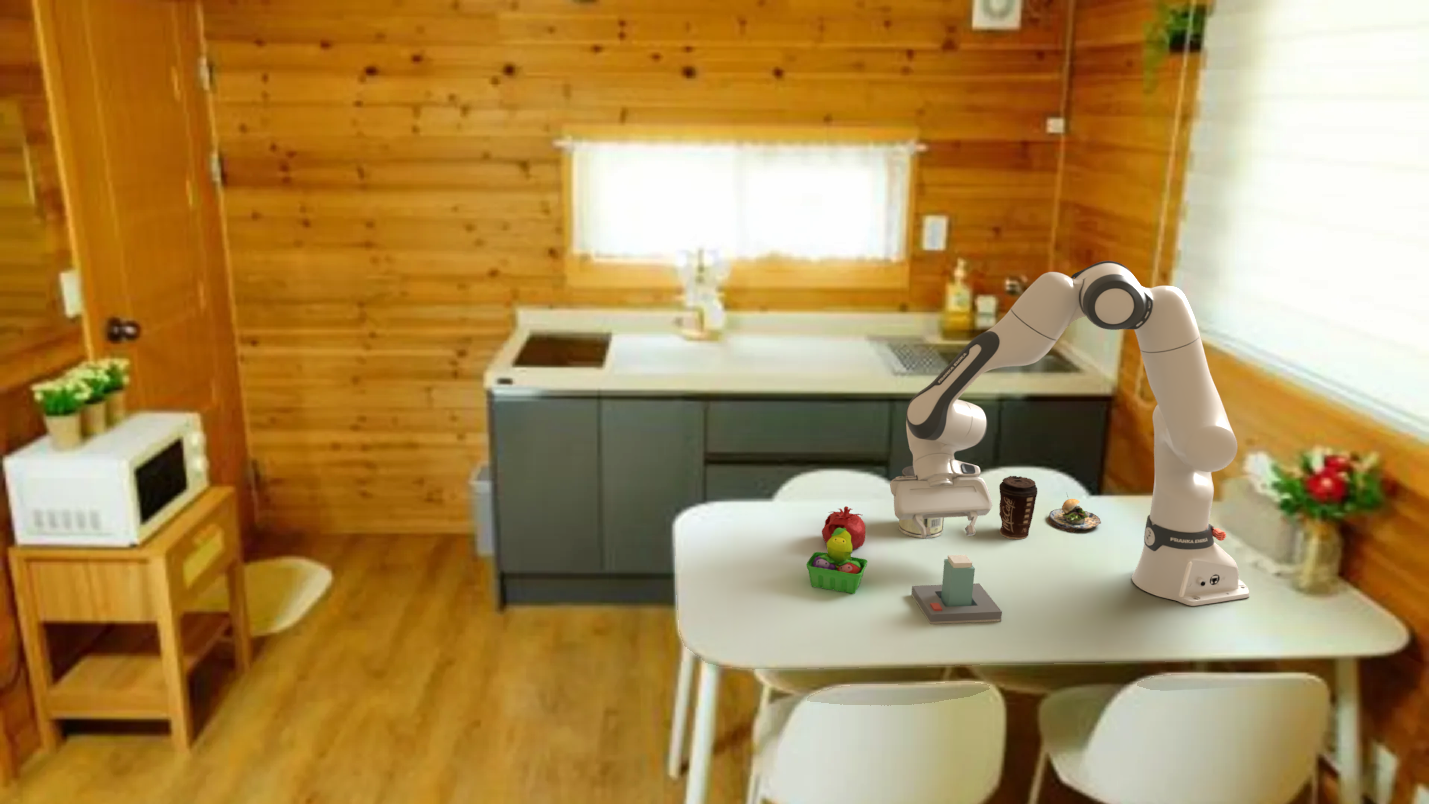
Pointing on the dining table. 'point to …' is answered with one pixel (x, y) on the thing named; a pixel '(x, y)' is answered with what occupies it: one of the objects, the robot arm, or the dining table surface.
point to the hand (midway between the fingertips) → (949, 536)
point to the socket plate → (938, 613)
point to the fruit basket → (837, 565)
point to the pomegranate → (845, 526)
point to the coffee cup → (1016, 506)
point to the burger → (1072, 517)
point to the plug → (957, 581)
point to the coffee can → (933, 523)
